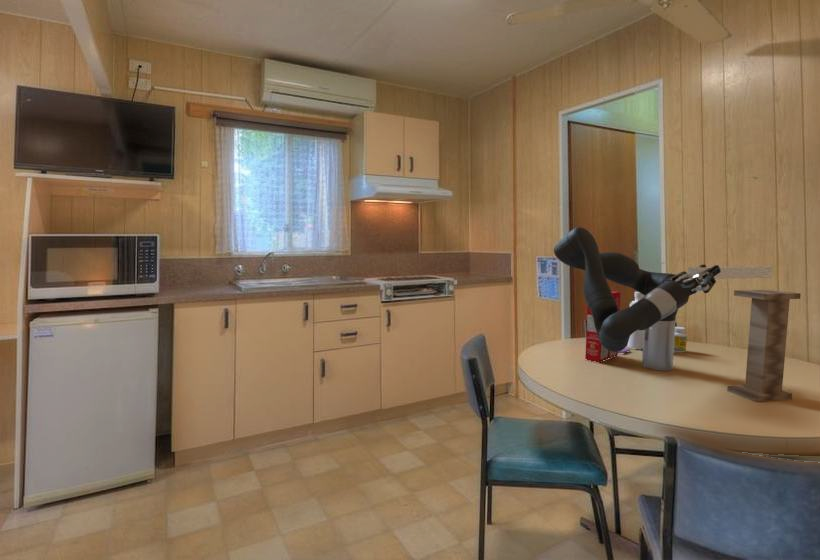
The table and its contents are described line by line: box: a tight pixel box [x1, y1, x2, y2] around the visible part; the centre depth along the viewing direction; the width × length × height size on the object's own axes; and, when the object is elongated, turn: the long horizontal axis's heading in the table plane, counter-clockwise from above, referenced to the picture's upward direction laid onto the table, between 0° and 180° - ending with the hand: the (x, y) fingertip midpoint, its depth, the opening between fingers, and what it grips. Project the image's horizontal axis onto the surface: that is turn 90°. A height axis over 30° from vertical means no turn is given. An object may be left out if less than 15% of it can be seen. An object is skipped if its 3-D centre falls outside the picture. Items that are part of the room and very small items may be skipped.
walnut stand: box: [726, 289, 801, 403], centre depth 125 cm, size 12×9×30 cm
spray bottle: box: [627, 291, 645, 349], centre depth 180 cm, size 7×7×25 cm
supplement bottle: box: [674, 326, 688, 353], centre depth 176 cm, size 5×5×10 cm
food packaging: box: [584, 290, 622, 363], centre depth 165 cm, size 15×5×25 cm, turn 130°
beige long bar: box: [687, 265, 773, 280], centre depth 120 cm, size 24×4×3 cm, turn 102°
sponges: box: [618, 347, 631, 354], centre depth 178 cm, size 7×13×2 cm, turn 39°
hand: (711, 267), depth 119 cm, fingers closed on beige long bar, 3 cm apart
